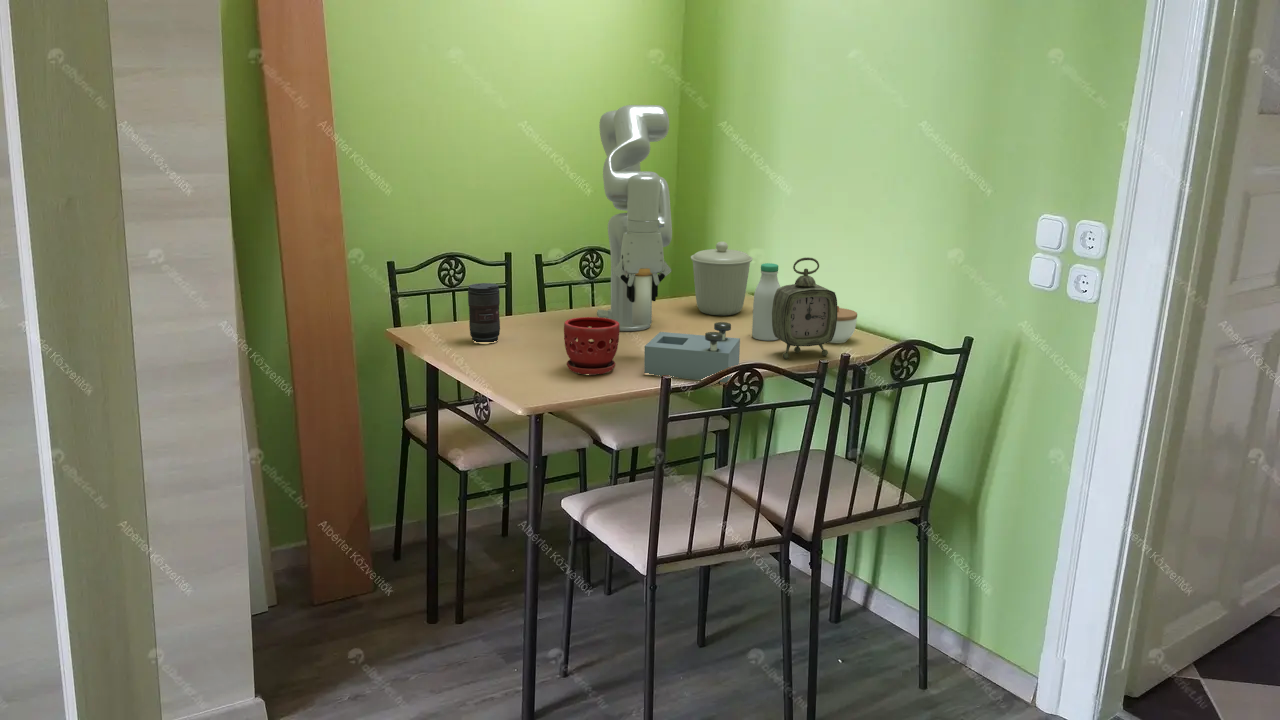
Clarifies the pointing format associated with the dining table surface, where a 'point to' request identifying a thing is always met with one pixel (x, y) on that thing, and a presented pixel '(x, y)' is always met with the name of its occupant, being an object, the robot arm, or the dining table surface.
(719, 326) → the plunger
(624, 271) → the robot arm
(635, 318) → the cylinder
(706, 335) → the plunger
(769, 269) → the milk bottle
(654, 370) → the housing
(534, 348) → the dining table surface
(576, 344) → the plant pot
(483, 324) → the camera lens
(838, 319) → the lidded jar
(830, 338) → the tabletop clock
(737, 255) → the canister
